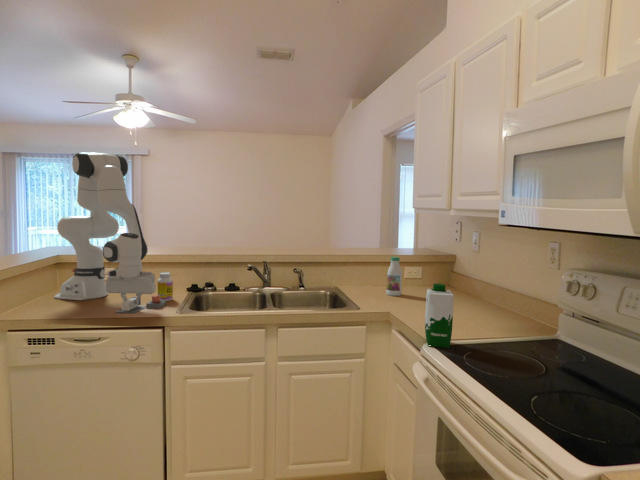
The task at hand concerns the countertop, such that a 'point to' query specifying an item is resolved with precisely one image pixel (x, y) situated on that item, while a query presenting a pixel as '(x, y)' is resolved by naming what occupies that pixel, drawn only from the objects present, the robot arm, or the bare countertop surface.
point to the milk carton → (439, 316)
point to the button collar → (155, 304)
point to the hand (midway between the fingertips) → (131, 303)
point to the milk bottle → (394, 278)
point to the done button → (156, 299)
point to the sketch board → (131, 310)
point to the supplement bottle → (165, 287)
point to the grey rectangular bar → (130, 304)
